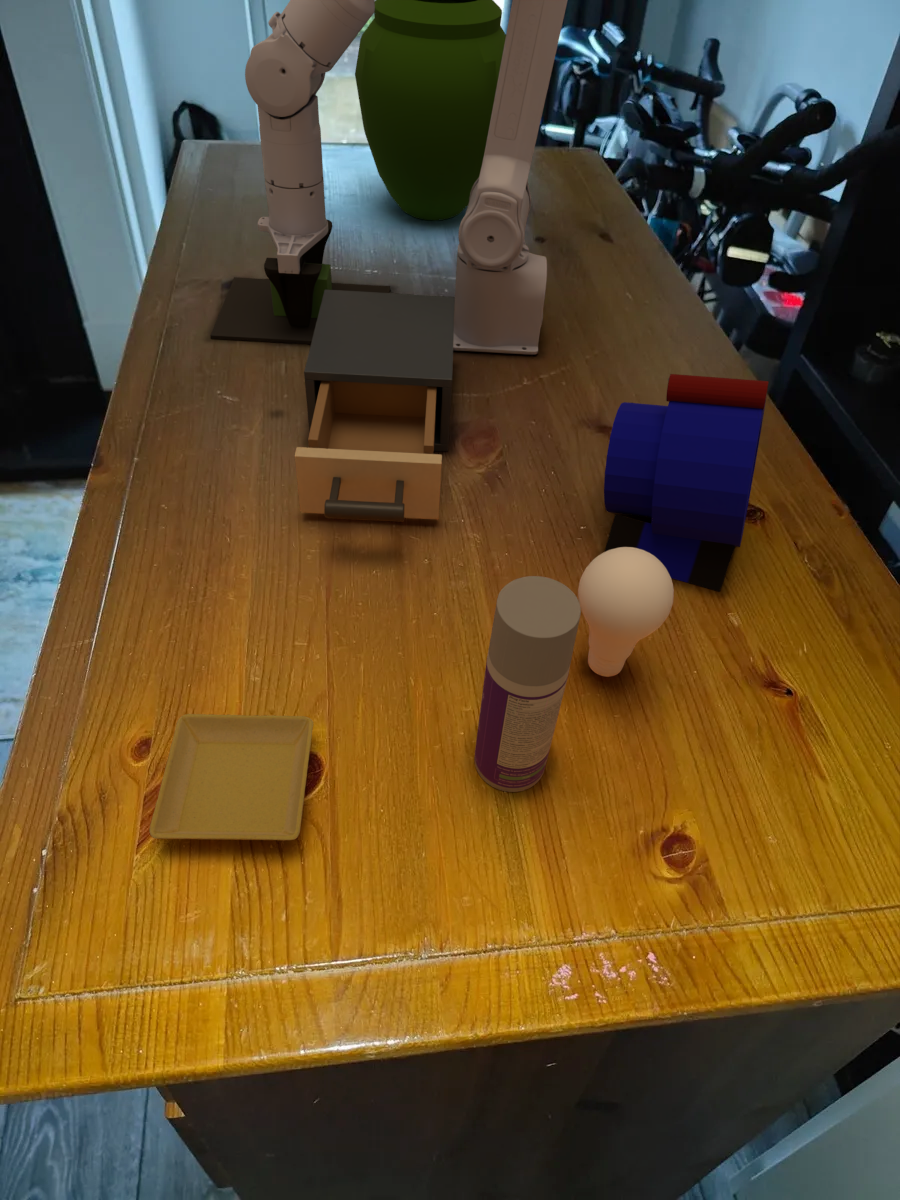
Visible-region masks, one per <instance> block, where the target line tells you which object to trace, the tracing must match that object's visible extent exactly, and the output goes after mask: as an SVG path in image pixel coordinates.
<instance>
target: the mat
mask: <svg viewBox="0 0 900 1200" xmlns="http://www.w3.org/2000/svg"><path fill="white" fill-rule="evenodd" d="M332 290H342V291H359V292H377V293H391V286H390V285H377V284H375V285H374V284H357V283H343V282H342V283H341V282H332ZM316 322H317V318H311V320H310V324H309V326H308V327H302V326H290V324H289V322H288V319H287V317H286V316H274V311H273V302H272V293H271V284H270V280H269V278H254V277H253V278H252V277H237V276H236V277H233V279H232V282H231V284H230V286H229V289H228V291H227V294H226V296H225V299H224V301H223V303H222V306H221V309H220V310H219V314H218V316H217V318H216V320H215V322H214V325H213V328H212V330H211V333H210V336H209V337H210V339H211V340H228V341H229V340H231V341H244V342H245V341H247V342H248V341H249V342H264V343H265V342H266V343H283V344H284V343H286V344H299V345H301V344H302V345H311V342H312V338H313V334H314V330H315V326H316Z"/></svg>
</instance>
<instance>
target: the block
mask: <svg viewBox="0 0 900 1200" xmlns="http://www.w3.org/2000/svg"><path fill="white" fill-rule="evenodd" d="M309 264H314V263H309ZM332 283H333V282H332V266H331V264H328V263H322V268H321V272H320V274H319V277H318V279H317V281H316V283H315V287H314V293H313V303H312V315H311V318H318V314H319V310H320V306H321V302H322V298H323V294H324V290H332ZM270 284H271V293H272V302H273V311H274V316H286V314H285V311H284V308H283V305H282V302H281V299H280V297H279V294H278V292H277V290H276V289H275V287H274V285H273V284H272V282H271V281H270Z"/></svg>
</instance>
